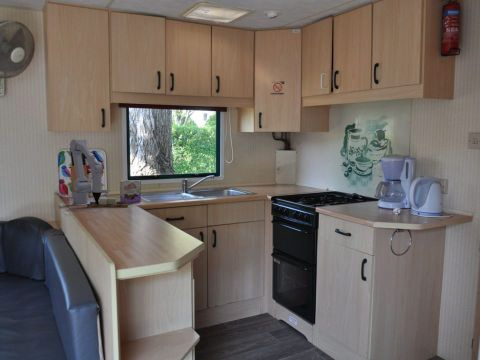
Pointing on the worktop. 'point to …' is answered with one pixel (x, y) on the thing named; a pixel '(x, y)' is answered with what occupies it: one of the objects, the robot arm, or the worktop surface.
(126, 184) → the candy box
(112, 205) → the walnut chute
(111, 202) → the sage block
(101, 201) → the white block
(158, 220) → the worktop surface
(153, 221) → the worktop surface
